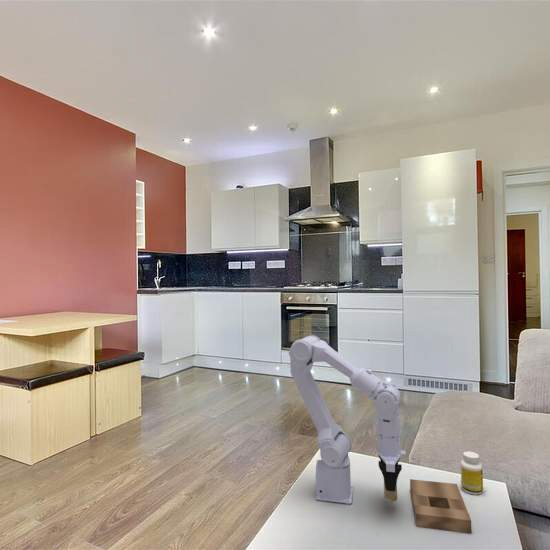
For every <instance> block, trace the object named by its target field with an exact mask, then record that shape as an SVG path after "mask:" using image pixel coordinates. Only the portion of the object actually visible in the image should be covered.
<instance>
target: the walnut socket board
mask: <svg viewBox="0 0 550 550" xmlns="http://www.w3.org/2000/svg"><path fill="white" fill-rule="evenodd" d="M409 485H410V486H409V487H410V490H409V491H410V496H411V501H412V507H413V515H414V519H415V526H416V527H418V528H427V529H435V530H440V531H441V530H442V531H450V532H458V533H465V534H472V519H471V516H470V514H469V511H468V509H467V506H466V504H465V502H464V498H463V497H462V494H461V491H460V489H459V486H458V484H457V483H453V482H452V483H451V482H444V481H443V482H440V481H433V480H432V481H429V480H421V479H412V478H411V479H409Z"/></svg>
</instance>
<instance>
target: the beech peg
mask: <svg viewBox="0 0 550 550" xmlns="http://www.w3.org/2000/svg"><path fill="white" fill-rule="evenodd" d="M383 496H384V497H383V498H384V499H385V500H386V501H388V502H396V501H397V500H398V483H397V484H396V489H395V491H387V490H386V487H385V482H384V481H383Z"/></svg>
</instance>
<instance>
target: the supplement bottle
mask: <svg viewBox="0 0 550 550" xmlns="http://www.w3.org/2000/svg"><path fill="white" fill-rule="evenodd" d="M462 457H463V459H462V460H461V461H460V486H461V490H462V491H464V492H465V493H467V494H469V495H475V496H476V495H477V496H480V495H481V494H483V492H484V480H483V479H484V478H483V476H484V475H483V465H482V463H480V455H479V454H478V453H476V452H473V451H464V452H463V455H462Z"/></svg>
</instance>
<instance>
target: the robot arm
mask: <svg viewBox="0 0 550 550" xmlns="http://www.w3.org/2000/svg"><path fill="white" fill-rule="evenodd" d="M288 355H289V357H290V359H289V360H290V363H289V365H290V375H291V377H292V379H293V381H294V383H295V386H296V387H297V390H298V393H299V394H300V396H301V399H302V401H303V403H304V405H305V407H306V409H307V411H308V413H309V416H310V417H311V420H312V423H313V424H314V426H315V429H316V431H317V445H318V447H319V450H320V451H319V453H320V454H319V455H320V459H317V460H316V465H315V493H316V495H315V499H316V500H317V501H324V502H331V503H338V504H339V503H340V504H348V505H351V504H352V502H353V495H354V487H353V486H351V484H352V483H351V480H352V479H351V460H350V457H349V453H350V452H351V450H352V447H353V443H352V440H351V438H350V437H349V435H348V434H347V433H345V432H344V430H343V428H342V426H341V425H339V424H338V423H336V421H335V420H334V418H333V416H332V413H331V411H330V410H329V407H328V405H327V403H326V401H325V398H323V397H324V396H323V395H322V393H321V391H320V389H319V387H318V383H316V380H315V378H314V376H313V374H312V371H311V370H312V368H313V366H314V363H323V362H324V363H326V364H328V365H329V366H331V367H332V368H334V369H335V370H336V371H337V372H340V373H341V374H343V375H344V376H345V377H347V378H349V380H350V381H349V382H350V384H351V386H352V387H354V388H355V389H356V390H357V391H359V392H360V393H361V394H363V395H364V396H366V397H367V398H368V399H369V400H371V401H372V402H373V403H374V407H375V408H376V410H377V411H376V413H377V415H376V423H377V424H376V425H377V430H376V431H377V449H376V453H377V455H378V458H379V460H377V461H378V467H379V468H378V469H379V470H380V471H381V474H382V477H383V483H384V482H385V487H386V490H387V491H395V489H396V484H397V485H398V479H399V475H400V472H401V471H402V468H403V466H402V465H403V464H399V462H400V461H401V457H407V456H406V455H407V453H406V450H404V449H401V447H402V445H401V443H402V441H401V416H400V405H399V404H400V402H401V398H402V396H401V395H402V394H401V392H400V390H399V389H398V388H397V387H396V386H395V384H392V383H388V382H387V381H386V380H384V381H382V380H381V379H380V378H379V377H378V376H376V375H374V374H373V373H372V372H373V370H371V369H370V368H367V369H366V368H365V367H356V366H355V365H354V364H352V363H351V362H350V361H348V360H347V358H345V357H343V356H342V355H341V354H340V353H339V352H337V351H336V350H335V349H334V348H332V346H330V345H329V344H328V343H327V342H326V341H325V340H323V339H320V337H318V336H316V335H313V334H310V335H307V336H306V337H305V336H304V337H303V338H301V339H297V340H295V341H294V342H292V344H291V346H290V349H289V351H288Z"/></svg>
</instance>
